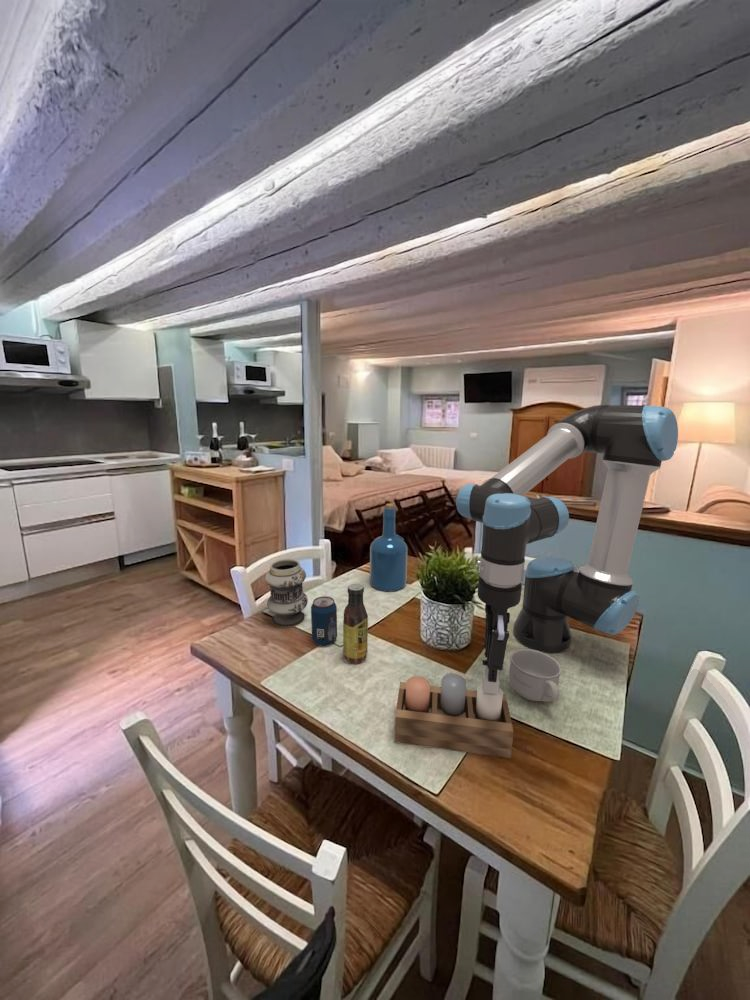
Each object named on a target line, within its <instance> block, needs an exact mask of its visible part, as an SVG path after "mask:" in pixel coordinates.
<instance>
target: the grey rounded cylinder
mask: <svg viewBox="0 0 750 1000" xmlns="http://www.w3.org/2000/svg"><path fill="white" fill-rule="evenodd" d="M440 684H441V686H440V687H441V700H440V707H441V710H442V711H443V712H444V713H446V714H447V715H450V716H459V715H461V714H462V713H463V712H464V709H465V696H466V690H467V680H466V679H465V678H464V676H462V675H460V674H457V673H453V672H451V673H446V674H444V675H443V676H442V678H441V683H440Z"/></svg>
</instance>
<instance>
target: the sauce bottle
mask: <svg viewBox="0 0 750 1000" xmlns="http://www.w3.org/2000/svg"><path fill="white" fill-rule="evenodd" d="M364 593H365V587H364V585H362V584H361V583H351V584H349V585H348V586H347V595H348V601H347V605H346V606H345V608H344V610H343V623H342V632H343V633H342V636H343V637H342V642H343V643H342V646H343V647H342V650H343V658H344V661H346V662H347V663H348V664H353V665H357V664H360V663H363V662H364V661H365V660H366V659H367V655H368V636H369V634H368V631H369V630H368V628H369V626H368V625H369V624H368V623H369V622H368V621H369V616H368V615H369V614H368V612H367V610H366V605H365V604H364Z"/></svg>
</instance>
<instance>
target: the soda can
mask: <svg viewBox="0 0 750 1000" xmlns="http://www.w3.org/2000/svg"><path fill="white" fill-rule="evenodd" d="M337 608H338V607H337V604H336V602H335V599H334V598H333V597H331V596H327V595H326V596H318V597H316V598H314V599H313V601H312V604H311V606H310V616H311V619H310V620H311V622H310V623H311V639H312V641H313V642H314V643H315V645H317V646H320V647H328V646H331V645H332V644H334V643H335V641H336V640H337V638H338V616H337V615H338V613H337V612H338V609H337Z"/></svg>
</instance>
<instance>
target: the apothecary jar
mask: <svg viewBox="0 0 750 1000" xmlns="http://www.w3.org/2000/svg"><path fill="white" fill-rule="evenodd" d="M269 568H270V569H269V570H268V571H267V572H266V575H265V583H266V584H267V585H268V586H269V588H270V589H269V590H270V596H269V597H268V599H267V601H266V607H267V609H268V611H270V612H271V613H272V614H273V616H272V618H271V623H272V624H273V625H274V626H276V627H277V628H282V629H284V628H293V627H297V626H298V625H300V624H302V623H303V622H304V621H305V618H306V615H305V614H304V612H303V611H304V610H305V608H306V607H307V605H308V602H309V599H308V596H307V595H306V593H305V592H304V591H303V590H304V589H303V583H304V582H305V580H306V577H307V573H306V571H305V569H304V568H302V567H301V564H300V561H298V560H297V559H292V558H286V559H285V558H284V559H278V560H276V561H273V562H272V563H271V564H270V567H269Z"/></svg>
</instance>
